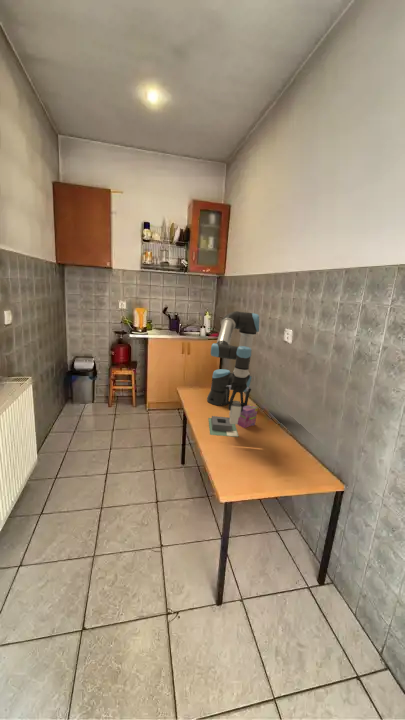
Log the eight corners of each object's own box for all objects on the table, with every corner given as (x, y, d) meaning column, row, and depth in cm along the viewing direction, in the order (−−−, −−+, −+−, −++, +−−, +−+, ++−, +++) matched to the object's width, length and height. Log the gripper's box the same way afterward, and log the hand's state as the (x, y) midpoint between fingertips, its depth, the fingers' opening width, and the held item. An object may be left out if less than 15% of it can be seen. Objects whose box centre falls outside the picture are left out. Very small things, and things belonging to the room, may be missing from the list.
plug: (229, 420, 166) (232, 400, 163) (236, 421, 167) (239, 401, 164) (230, 423, 162) (233, 403, 160) (237, 424, 163) (240, 404, 160)
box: (244, 429, 175) (246, 410, 172) (236, 425, 179) (239, 407, 176) (255, 425, 182) (258, 407, 179) (248, 421, 186) (250, 404, 183)
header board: (208, 418, 183) (208, 412, 182) (233, 421, 184) (234, 414, 183) (209, 435, 162) (210, 428, 161) (238, 438, 163) (239, 431, 162)
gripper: (225, 376, 154) (219, 417, 159) (257, 379, 155) (251, 420, 160) (223, 372, 161) (218, 411, 167) (255, 375, 162) (248, 414, 168)
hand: (234, 416), depth 164 cm, fingers closed on plug, 4 cm apart
